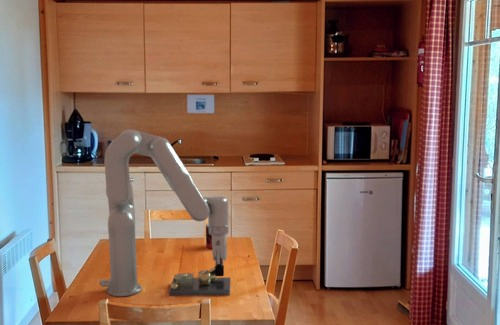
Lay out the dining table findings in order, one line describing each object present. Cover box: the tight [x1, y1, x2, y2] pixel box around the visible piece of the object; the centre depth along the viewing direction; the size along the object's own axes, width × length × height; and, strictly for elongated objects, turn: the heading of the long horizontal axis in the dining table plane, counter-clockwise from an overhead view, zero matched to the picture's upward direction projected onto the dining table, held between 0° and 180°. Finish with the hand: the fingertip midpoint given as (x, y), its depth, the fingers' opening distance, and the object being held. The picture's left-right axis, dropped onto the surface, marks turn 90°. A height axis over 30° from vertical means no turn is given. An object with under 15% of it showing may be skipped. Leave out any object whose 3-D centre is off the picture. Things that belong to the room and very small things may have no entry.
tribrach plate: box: [168, 273, 231, 297], centre depth 213 cm, size 22×13×6 cm, turn 91°
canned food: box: [205, 222, 212, 250], centre depth 266 cm, size 8×8×11 cm
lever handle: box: [197, 266, 217, 285], centre depth 216 cm, size 12×5×4 cm, turn 156°
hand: (219, 275), depth 219 cm, fingers closed
